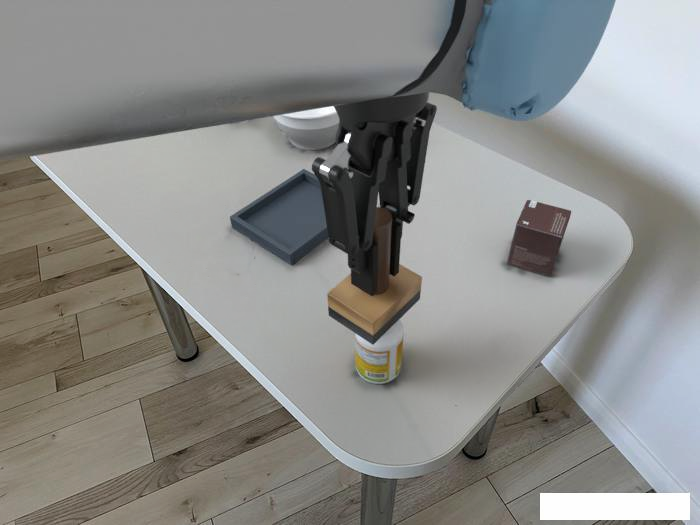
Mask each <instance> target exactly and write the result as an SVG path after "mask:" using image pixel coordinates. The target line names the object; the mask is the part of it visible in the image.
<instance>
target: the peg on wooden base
mask: <svg viewBox="0 0 700 525" xmlns="http://www.w3.org/2000/svg"><path fill="white" fill-rule="evenodd" d="M391 233H392V215H391V213H390V212H389V211H388V210H387V209H384V208H381V207H380V206H377V207H376V216H375V224H374V232H373V241H375V242H377V243H378V278H377V293H376V294H375V295H373V296H371V295H369V294H367V293H366V292H364V291H362V290H361V289H359V288H358V287H356V286H354V285H353V284H351V273H349V274H348V275H347V276H346V277H344V279H342V280H341V281H340V282H339V283H337V284H336V285H335V286H334V287H333V288H332V289H330V290H329V291H328V292H327V310H328V311H327V312H328V317H331V319H333V320H335V321H336V322H337V323H339V324H340V325H342V326H344V327H345V328H346V329H348V330H349V331H351V332H353V333H354V334H355V333H356V334H357V335H359V336H360V337H362V338H363V339H365V340H366V341H368V342H369V343H371V344H372V345H374V344H375V343H376V342H377V341H378V340H379V339H380V338H381V337H382V336H383V335H384V334H385V333H386V332H387V331H388V330H389V329H390V328H391V327H392V326H393V325H394V324H395V323H396V322H397V321H398V320H399V319H400V320H401V318H402V317H403V316H405V314H407V313H408V311H410V310H411V308H413V307H414V305H416V304H417V303H418V302H419V301H420V300H421V292H422V283H423V276H421V275H420V274H418V273H416V272H415V271H413V270H411V269H409V268H407V267H406V266H404V265H403V264H400V263H399V273H398V274H397V275H396V276H392V275H390V255H391Z"/></svg>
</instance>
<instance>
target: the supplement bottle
mask: <svg viewBox="0 0 700 525" xmlns="http://www.w3.org/2000/svg"><path fill="white" fill-rule="evenodd" d="M404 333H405V329H404V324H403V322H402V320H401V318H400V319H399V320H398V321H397V322H396V323H395V324H394V325H393V326H392V327H391V328H390V329H389V330H388V331H387V332H386V333H385V334H384V335H383V336H382V337H381V338H380V339H379V340H378V341H377V342H376V343H375V344H374V345H372V344H371V343H369V342H368V341H366V340H365V339H363V338H362V337H360V336H359V335H357V334H356V333H354V363H355V370H356V371H357V373H358V375H359V376H360V378H362V379H363V380H365V381H366V382H368V383H371V384H376V385H382V384H387V383H390V382H391V381H394V379H396V378H397V377H398V376H399V374H400V371H401V369H402V363H403V362H402V361H403V347H404V336H405V334H404Z"/></svg>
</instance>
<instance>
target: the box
mask: <svg viewBox="0 0 700 525" xmlns="http://www.w3.org/2000/svg"><path fill="white" fill-rule="evenodd" d="M571 215H572V210H570V209H567V208H564V207H559V206H554V205H550V204H547V203H543V202H539V201H536V200H530V199H527V200H526V201H525V203H524V206H523V207H522V209H521V211H520V215H519V217H518V219H517V222H516V224H515V227H514V228H515V229H514V232H513V235H512V236H513V237H512V240H511V244H510V248H509V253H508V256H507V260H506V264H507V265H509V266H512V267H515V268H518V269H523V270H526V271H529V272H533V273H535V274H539V275H542V276H546V277H550V276H551V275H552V274H553V269H554V267H555V265H556V261H557V258H558V255H559V253H560V249H561V247H562V246H561V245H562V243H563V240H564V237H565V233H566V230H567V228H568V225H569V222H570V219H571Z"/></svg>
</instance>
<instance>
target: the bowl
mask: <svg viewBox="0 0 700 525" xmlns="http://www.w3.org/2000/svg"><path fill="white" fill-rule="evenodd" d="M272 117H273V119H274V122H275V124H276V126H277V127H278V128H279V130H280V131H281V132H282V133H283V134H284V135H285V136H286V137H287V138H288V139H289V142H290V143H291V144H292V145H293V146H295V147H296V148H298V149H301V150H307V151H317V150H318V151H319V150H322V149H323V150H324V149H325V148H328V147H331V146H332V145H334V144H336V133H337V130H338V126H339V116H338V114H337V112H336V110H335V108H334V106H331V107H325V108H319V109H313V110H307V111H301V112H295V113H289V114H283V115H277V116H272Z"/></svg>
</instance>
